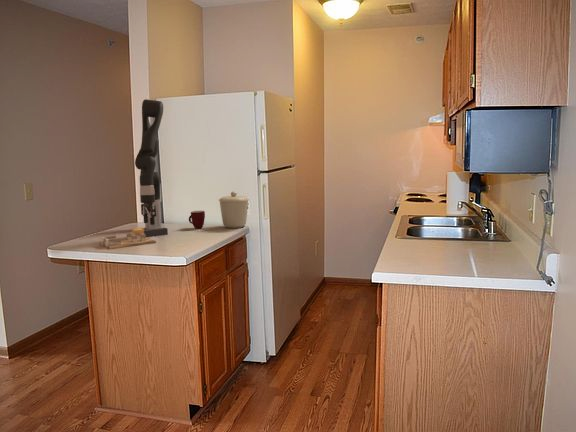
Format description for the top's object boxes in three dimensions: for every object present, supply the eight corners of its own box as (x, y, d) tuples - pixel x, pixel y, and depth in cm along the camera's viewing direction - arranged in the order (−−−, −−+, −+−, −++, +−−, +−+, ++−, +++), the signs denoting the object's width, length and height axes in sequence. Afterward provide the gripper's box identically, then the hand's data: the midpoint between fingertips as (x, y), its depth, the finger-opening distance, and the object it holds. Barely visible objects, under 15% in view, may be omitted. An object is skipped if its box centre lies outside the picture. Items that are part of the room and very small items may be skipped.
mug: (185, 229, 294) (184, 212, 292) (192, 226, 301) (191, 210, 300) (201, 229, 290) (200, 212, 289) (207, 227, 298) (207, 210, 296)
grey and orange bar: (135, 239, 265) (135, 230, 265) (132, 237, 269) (132, 229, 268) (168, 234, 276) (167, 226, 275) (164, 233, 280) (164, 225, 279)
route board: (100, 243, 253) (99, 235, 253) (144, 238, 267) (143, 229, 266) (110, 249, 241) (109, 239, 240) (156, 242, 254) (155, 234, 254)
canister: (245, 229, 289) (244, 193, 286) (215, 229, 293) (213, 192, 290) (253, 224, 307) (252, 190, 303) (225, 223, 310) (224, 189, 307)
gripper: (135, 193, 272) (137, 223, 274) (146, 195, 260) (148, 225, 263) (148, 192, 276) (150, 221, 278) (159, 193, 265) (161, 224, 267)
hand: (149, 223), depth 270 cm, fingers open, 8 cm apart
